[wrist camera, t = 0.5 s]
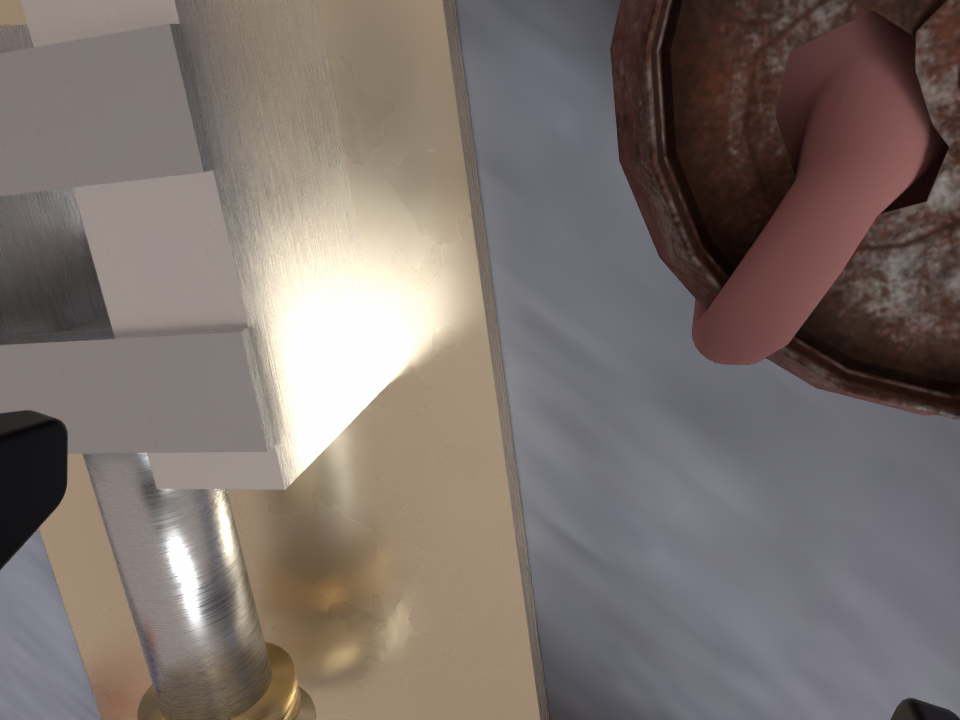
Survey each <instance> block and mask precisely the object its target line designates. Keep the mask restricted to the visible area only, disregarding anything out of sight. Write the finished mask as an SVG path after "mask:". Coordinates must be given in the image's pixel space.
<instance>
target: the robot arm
mask: <svg viewBox="0 0 960 720" xmlns="http://www.w3.org/2000/svg"><path fill="white" fill-rule="evenodd" d="M67 477H68V431H67V428H66V426H65V424H64V423H63V422H62V421H61V420H59V419H57V418H54V417H51V416H48V415H45V414H42V413H39V412H36V411H31V410H23V411H15V412H7V413H0V570H1V569H2V568H3V567H4V565H5V564H6V563H7V562H8V561H9V560H10V559H11V558H12V557H13V556H14V554H15V553H16V552H17V551H18V550H19V549H20V548H21V547H22V546H23V545H24V543H25V542H26V541H27V540H28V539H29V538H30V537H31V536H32V535H33V534H34V532H35V531H36V530H37V529H38V528H39V527H40V526H41V525H42V524H43V523H44V521H45V520H46V519H47V518H48V517H49V516H50V515H51V514H52V513H53V512H54V510H55V509H56V508H57V507H58V506H59V504H60V503H61V501H62V499H63V497H64V495H65V492H66V488H67ZM891 720H960V718H959V717H958V716H957V715H956V714H955V713H953V712H951V711H950V710H948V709H945V708H942V707H939V706H935V705H932V704H929V703H926V702H923V701H920V700H917V699H914V698H908V699H905V700H903V701H902V702H901V703H900V704H899V705H898V706H897V708H896V710H895V712H894V714H893V716H892V718H891Z"/></svg>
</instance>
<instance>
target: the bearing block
mask: <svg viewBox="0 0 960 720" xmlns="http://www.w3.org/2000/svg"><path fill="white" fill-rule="evenodd" d="M107 316H109V319H110V323H111V326H112V328H108V329H91V330H74V331H64V330H66V329H69V328H71V327H74V326H76V325H79V324H82V323H85V322H89V321H92V320H96V319H99V318H103V317H107ZM23 410H31V411H36V412H39V413H42V414H45V415H48V416H51V417H54V418H57V419H59V420H61V421H62V422H63V423H64V424H65V426H66V428H67V431H68V477H67V488H66V492H65V495H64V497H63V499H62V501H61V503H60V504H59V506H58V507H57V508H56V509H55V510H54V512H53V513H52V514H51V515H50V516H49V517H48V518H47V519H46V520H45V521H44V523H43V524H42V525H41V526H40V527H39V530H40V533H41V536H42V539H43V542H44V545H45V548H46V551H47V554H48V557H49V560H50V563H51V566H52V569H53V572H54V575H55V578H56V581H57V584H58V587H59V590H60V593H61V596H62V599H63V602H64V605H65V608H66V611H67V614H68V617H69V620H70V623H71V627H72V630H73V633H74V636H75V639H76V642H77V645H78V648H79V651H80V654H81V657H82V660H83V663H84V666H85V669H86V672H87V675H88V678H89V681H90V684H91V687H92V690H93V693H94V696H95V699H96V702H97V705H98V708H99V711H100V714H101V717H102V720H138V719H137V712H138V707H139V704H140V702H141V699H142V697H143V695H144V694H145V692H146V691H147V689H148V688H149V687H150V686H151V684H152V681H151V677H150V674H149V671H148V667H147V664H146V661H145V658H144V654H143V651H142V648H141V644H140V641H139V638H138V635H137V631H136V628H135V625H134V622H133V618H132V615H131V612H130V608H129V605H128V602H127V599H126V595H125V592H124V589H123V585H122V582H121V579H120V576H119V572H118V569H117V566H116V562H115V559H114V556H113V553H112V549H111V546H110V543H109V539H108V536H107V533H106V530H105V526H104V523H103V520H102V516H101V513H100V510H99V507H98V503H97V500H96V497H95V493H94V490H93V487H92V484H91V480H90V477H89V474H88V470H87V467H86V464H85V461H84V457H83V454H82V453H147V455H148V459H149V463H150V466H151V470H152V473H153V477H154V481H155V484H156V488H157V489H227V493H228V497H229V501H230V505H231V509H232V513H233V517H234V521H235V525H236V529H237V533H238V537H239V541H240V545H241V549H242V553H243V557H244V561H245V565H246V568H247V572H248V576H249V580H250V584H251V588H252V592H253V596H254V600H255V604H256V608H257V612H258V616H259V620H260V624H261V628H262V632H263V636H264V640H265V642H269V643H272V644H275V645H277V646H279V647H281V648H282V649H284V650H285V651H286V652H287V653H288V654H289V655H290V657H291V659H292V661H293V664H294V668H295V673H296V677H297V681H298V685H299V687H301V688H302V689H303V690H305V691H306V692H307V693H308V694H309V696H310V697H311V698H312V701H313V703H314V705H315V710H316V714H317V718H318V720H550V718H549V711H548V703H547V696H546V688H545V680H544V673H543V665H542V658H541V650H540V642H539V635H538V627H537V620H536V612H535V604H534V597H533V589H532V582H531V574H530V566H529V559H528V551H527V544H526V536H525V528H524V521H523V513H522V506H521V498H520V490H519V483H518V475H517V468H516V460H515V452H514V445H513V437H512V430H511V422H510V414H509V407H508V399H507V392H506V384H505V376H504V369H503V361H502V354H501V346H500V338H499V331H498V323H497V316H496V308H495V300H494V293H493V285H492V278H491V270H490V262H489V255H488V247H487V240H486V232H485V224H484V217H483V209H482V202H481V194H480V186H479V179H478V171H477V164H476V156H475V148H474V141H473V133H472V126H471V118H470V110H469V103H468V95H467V88H466V80H465V72H464V65H463V57H462V50H461V42H460V34H459V27H458V19H457V12H456V4H455V0H0V413H7V412H15V411H23Z"/></svg>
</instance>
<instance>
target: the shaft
mask: <svg viewBox="0 0 960 720" xmlns="http://www.w3.org/2000/svg"><path fill="white" fill-rule="evenodd" d="M108 328H112V326H111V323H110V319H109V316H107V317H103V318H99V319H96V320H92V321H89V322H85V323H82V324H79V325H76V326H74V327H71V328H69V329H66V330H64V331H74V330H91V329H108ZM82 454H83V457H84V461H85V464H86V467H87V470H88V474H89V477H90V480H91V484H92V487H93V490H94V493H95V497H96V500H97V503H98V507H99V510H100V513H101V516H102V520H103V523H104V526H105V530H106V533H107V536H108V539H109V543H110V546H111V549H112V553H113V556H114V559H115V562H116V566H117V569H118V572H119V576H120V579H121V582H122V585H123V589H124V592H125V595H126V599H127V602H128V605H129V608H130V612H131V615H132V618H133V622H134V625H135V628H136V631H137V635H138V638H139V641H140V644H141V648H142V651H143V654H144V658H145V661H146V664H147V667H148V671H149V674H150V677H151V681H152V684H151V686H150V687H149V688H148V689H147V691H146V692H145V694H144V695H143V697H142V699H141V702H140V704H139V707H138V712H137V719H138V720H318V718H317V714H316V710H315V705H314V703H313V701H312V698H311V697H310V696H309V694H308V693H307V692H306V691H305V690H303V689H302V688H301V687H299V685H298V681H297V677H296V673H295V668H294V664H293V661H292V659H291V657H290V655H289V654H288V653H287V652H286V651H285V650H284V649H282V648H281V647H279V646H277V645H275V644H272V643H269V642H265V640H264V636H263V632H262V628H261V624H260V620H259V616H258V612H257V608H256V604H255V600H254V596H253V592H252V588H251V584H250V580H249V576H248V572H247V568H246V565H245V561H244V557H243V553H242V549H241V545H240V541H239V537H238V533H237V529H236V525H235V521H234V517H233V513H232V509H231V505H230V501H229V497H228V493H227V489H157V488H156V484H155V481H154V477H153V473H152V470H151V466H150V463H149V459H148V455H147V453H82Z"/></svg>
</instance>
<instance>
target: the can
mask: <svg viewBox="0 0 960 720" xmlns="http://www.w3.org/2000/svg"><path fill="white" fill-rule="evenodd" d="M610 51H611V63H612V75H613V88H614V100H615V112H616V125H617V137H618V149H619V161H620V164H621V166H622V168H623V171H624V173H625V176H626V178H627V180H628V183H629V185H630V187H631V190H632V192H633V195H634V197H635V199H636V202H637V204H638V207H639V209H640V211H641V214H642V216H643V219H644V221H645V223H646V226H647V228H648V231H649V233H650V235H651V238H652V240H653V243H654V245H655V247H656V250H657V252H658V255H659V257H660V258H661V260H662V261H663V262H664V263H665V264H666V265H667V266H668V268H669V269H670V270H671V271H672V272H673V273H674V274H675V276H676V277H677V278H678V279H679V280H680V281H681V283H682V284H683V285H684V286H685V287H686V288H687V289H688V291H689V292H690V293H691V294H692V295H693V296H694V297H695V308H694V317H693V326H692V339H693V341H694V344H695V346H696V348H697V349H698V350H699V352H700V353H701V354H702V355H703V356H705V357H706V358H707V359H709V360H711V361H713V362H715V363H719V364H727V365H750V364H754V363H757V362H759V361H761V360H762V359H764V358H767V359H769V360H770V361H772V362H774V363H775V364H777V365H779V366H780V367H782V368H784V369H785V370H787V371H789V372H790V373H792V374H794V375H795V376H797V377H799V378H800V379H802V380H804V381H805V382H807V383H809V384H810V385H812V386H814V387H815V388H818V389H822V390H826V391H830V392H834V393H838V394H842V395H845V396H849V397H853V398H857V399H861V400H865V401H869V402H873V403H877V404H881V405H885V406H889V407H893V408H897V409H901V410H904V411H908V412H912V413H916V414H920V415H940V416H944V417H948V418H952V419H960V0H621V2H620V7H619V11H618V16H617V21H616V25H615V30H614V34H613V39H612V44H611V48H610Z"/></svg>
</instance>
